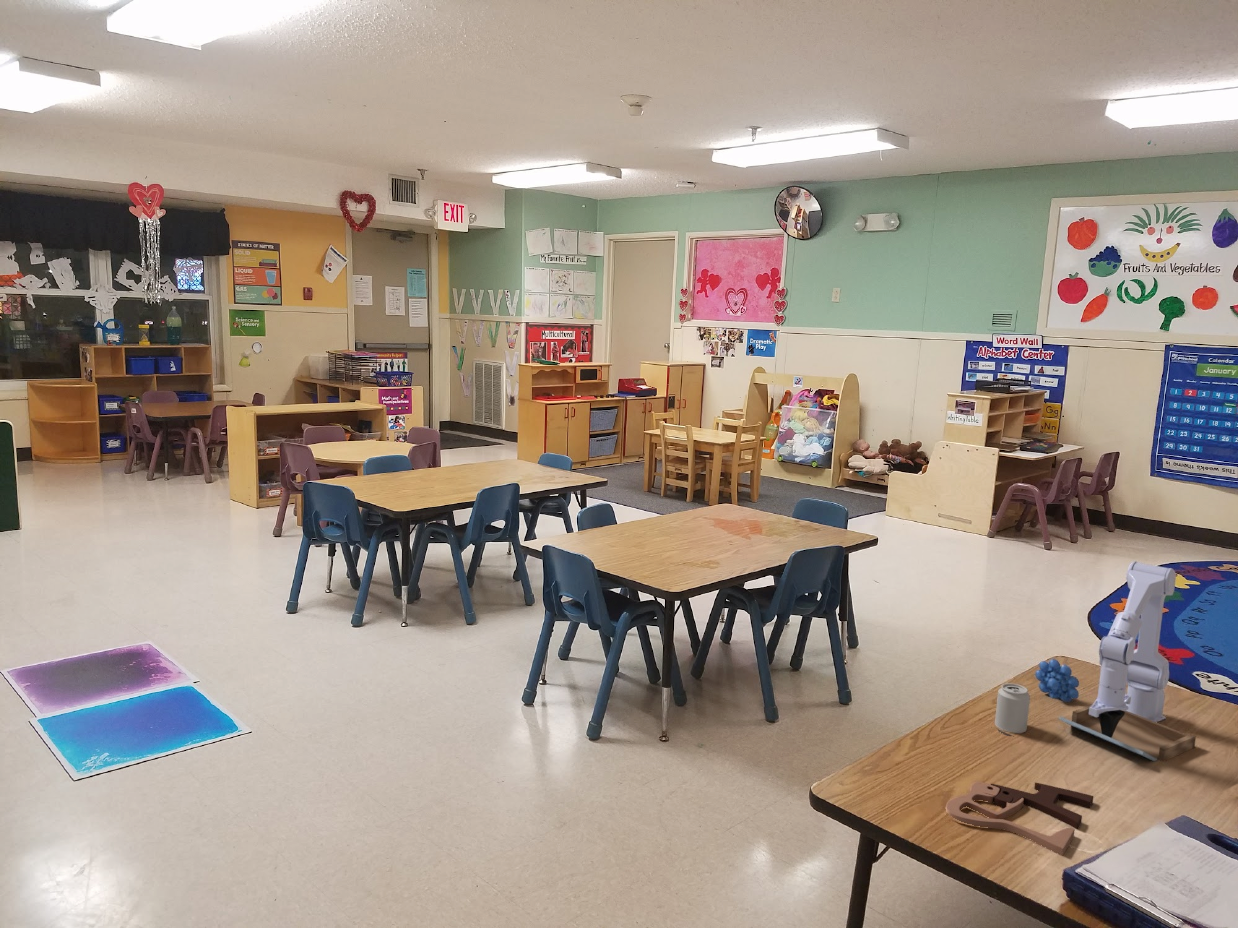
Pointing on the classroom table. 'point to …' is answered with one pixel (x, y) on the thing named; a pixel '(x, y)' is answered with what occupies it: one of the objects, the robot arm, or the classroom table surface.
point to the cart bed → (1141, 734)
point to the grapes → (1057, 680)
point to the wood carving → (1014, 802)
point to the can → (1012, 708)
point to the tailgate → (1108, 739)
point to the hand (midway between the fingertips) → (1106, 736)
